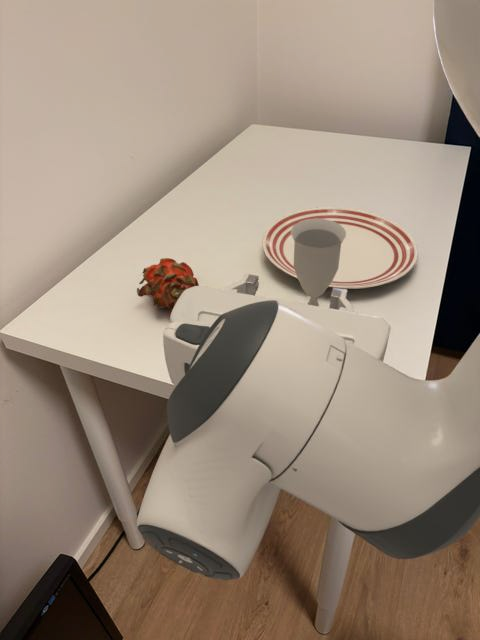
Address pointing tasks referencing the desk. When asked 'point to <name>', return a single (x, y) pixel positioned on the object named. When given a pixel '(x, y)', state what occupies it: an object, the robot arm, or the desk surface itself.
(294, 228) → the chalice
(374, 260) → the dinner plate
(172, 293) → the dragon fruit
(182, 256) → the desk surface
